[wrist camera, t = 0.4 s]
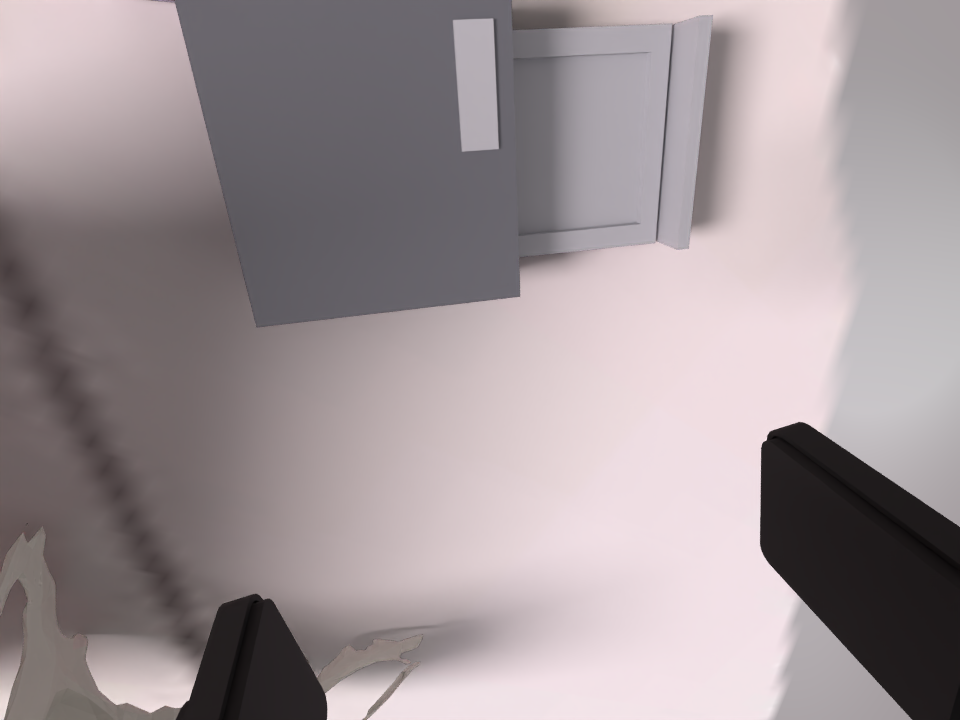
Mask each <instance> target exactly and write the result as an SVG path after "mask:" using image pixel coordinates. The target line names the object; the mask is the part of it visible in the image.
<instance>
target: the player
mask: <svg viewBox="0 0 960 720" xmlns="http://www.w3.org/2000/svg"><path fill="white" fill-rule="evenodd" d="M175 4H176V8H177V12H178V16H179V20H180V24H181V28H182V32H183V36H184V40H185V44H186V48H187V52H188V56H189V60H190V64H191V68H192V72H193V76H194V80H195V84H196V88H197V92H198V96H199V100H200V104H201V108H202V112H203V116H204V120H205V124H206V128H207V132H208V136H209V140H210V144H211V148H212V151H213V155H214V159H215V163H216V167H217V171H218V175H219V179H220V183H221V187H222V191H223V195H224V199H225V203H226V207H227V211H228V215H229V219H230V223H231V227H232V231H233V235H234V239H235V243H236V247H237V251H238V255H239V259H240V263H241V267H242V271H243V275H244V279H245V283H246V287H247V291H248V295H249V299H250V303H251V307H252V311H253V315H254V319H255V323H256V327H265V326H273V325H282V324H290V323H299V322H307V321H316V320H325V319H333V318H342V317H350V316H359V315H367V314H376V313H384V312H393V311H401V310H410V309H418V308H427V307H435V306H444V305H453V304H461V303H470V302H478V301H487V300H495V299H504V298H512V297H520V272H519V238H518V204H517V170H516V136H515V102H514V68H513V34H512V0H175Z"/></svg>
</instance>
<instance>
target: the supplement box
mask: <svg viewBox="0 0 960 720" xmlns="http://www.w3.org/2000/svg"><path fill="white" fill-rule="evenodd" d="M154 1H166V2H175V0H154Z"/></svg>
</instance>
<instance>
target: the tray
mask: <svg viewBox="0 0 960 720" xmlns="http://www.w3.org/2000/svg"><path fill="white" fill-rule="evenodd" d="M712 20H713V15H704V16H697V17H694V18H691V19H688V20H685V21H682V22H680V23H677V24H674V25H672V24H649V25H624V26H599V27H574V28H550V29H525V30H512V34H513V68H514V102H515V136H516V170H517V204H518V238H519V257H528V256H537V255H547V254H556V253H566V252H575V251H585V250H594V249H603V248H613V247H622V246H632V245H641V244H651V243H655V241H657V242H659V243H662V244H664V245H667V246H669V247H672V248H674V249H677V250H680V249H689V241H690V231H691V222H692V212H693V203H694V193H695V183H696V174H697V164H698V154H699V145H700V135H701V126H702V116H703V106H704V97H705V87H706V77H707V68H708V58H709V49H710V39H711V29H712Z"/></svg>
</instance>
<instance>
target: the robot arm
mask: <svg viewBox="0 0 960 720" xmlns="http://www.w3.org/2000/svg"><path fill="white" fill-rule="evenodd" d="M760 546H761V550H762V552H763V555H764V557H765V558H766V560H767V561H768V563H769V564H770V565H771V566H772V567H773V568H774V569H775V571H776V572H777V573H778V574H779V575H780V576H781V577H782V578H783V579H784V580H785V581H786V583H787V584H788V585H789V586H790V587H791V588H792V589H793V590H794V591H795V592H796V593H797V595H798V596H799V597H800V598H801V599H802V600H803V601H804V602H805V603H806V604H807V605H808V607H809V608H810V609H811V610H812V611H813V612H814V613H815V614H816V615H817V616H818V617H819V618H820V620H821V621H822V622H823V623H824V624H825V625H826V626H827V627H828V628H829V629H830V630H831V632H832V633H833V634H834V635H835V636H836V637H837V638H838V639H839V640H840V641H841V642H842V644H843V645H844V646H845V647H846V648H847V649H848V650H849V651H850V652H851V653H852V654H853V656H854V657H855V658H856V659H857V660H858V661H859V662H860V663H861V664H862V665H863V666H864V667H865V669H866V670H867V671H868V672H869V673H870V674H871V675H872V676H873V677H874V678H875V680H876V681H877V682H878V683H879V684H880V685H881V686H882V687H883V688H884V689H885V690H886V692H887V693H888V694H889V695H890V696H891V697H892V698H893V699H894V700H895V701H896V702H897V704H898V705H899V706H900V707H901V708H902V709H903V710H904V711H905V712H906V713H907V714H908V715H909V717H910V718H911V719H912V720H960V527H959V526H958V525H956V524H955V523H953V522H952V521H950V520H949V519H947V518H946V517H944V516H943V515H941V514H940V513H938V512H937V511H935V510H934V509H932V508H931V507H929V506H928V505H926V504H925V503H923V502H922V501H921V500H919V499H918V498H916V497H915V496H913V495H912V494H910V493H909V492H907V491H906V490H904V489H903V488H901V487H900V486H898V485H897V484H895V483H894V482H892V481H891V480H889V479H888V478H886V477H885V476H883V475H882V474H881V473H879V472H877V471H876V470H875V469H873V468H872V467H870V466H868V465H867V464H866V463H864V462H863V461H861V460H860V459H858V458H857V457H855V456H854V455H852V454H851V453H850V452H848V451H847V450H845V449H844V448H842V447H841V446H839V445H838V444H836V443H835V442H833V441H832V440H830V439H829V438H827V437H826V436H824V435H823V434H821V433H820V432H818V431H817V430H815V429H814V428H813V427H811V426H810V425H808V424H806V423H803V422H798V423H795V424H792V425H788V426H785V427H782V428H779V429H776V430H773V431H770V432H769V434H768V436H767V441H765V442H763V444H762V447H761V517H760ZM176 720H327V701H326V696H325V692H324V690H323V688H322V686H321V685H320V683H319V681H318V679H317V678H316V676H315V674H314V672H313V671H312V669H311V667H310V665H309V664H308V662H307V660H306V658H305V657H304V655H303V653H302V651H301V649H300V648H299V646H298V644H297V642H296V641H295V639H294V637H293V635H292V634H291V632H290V630H289V628H288V627H287V625H286V623H285V621H284V620H283V618H282V616H281V614H280V613H279V611H278V609H277V607H276V606H275V604H274V602H273V601H272V600H271V599H265V600H263V599H262V598H261V597H260V595H258V594H253V595H249V596H246V597H243V598H240V599H237V600H234V601H230V602H227V603H224V604H222V605H221V606H220V607H219V609H218V611H217V614H216V617H215V620H214V624H213V627H212V630H211V633H210V636H209V639H208V643H207V646H206V649H205V652H204V655H203V658H202V662H201V665H200V668H199V671H198V674H197V677H196V681H195V684H194V687H193V690H192V693H191V696H190V700H189V701H187V702H186V703H185V704H184V705H183V707H182V708H181V709H180V711H179V713H178V716H177V718H176Z"/></svg>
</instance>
